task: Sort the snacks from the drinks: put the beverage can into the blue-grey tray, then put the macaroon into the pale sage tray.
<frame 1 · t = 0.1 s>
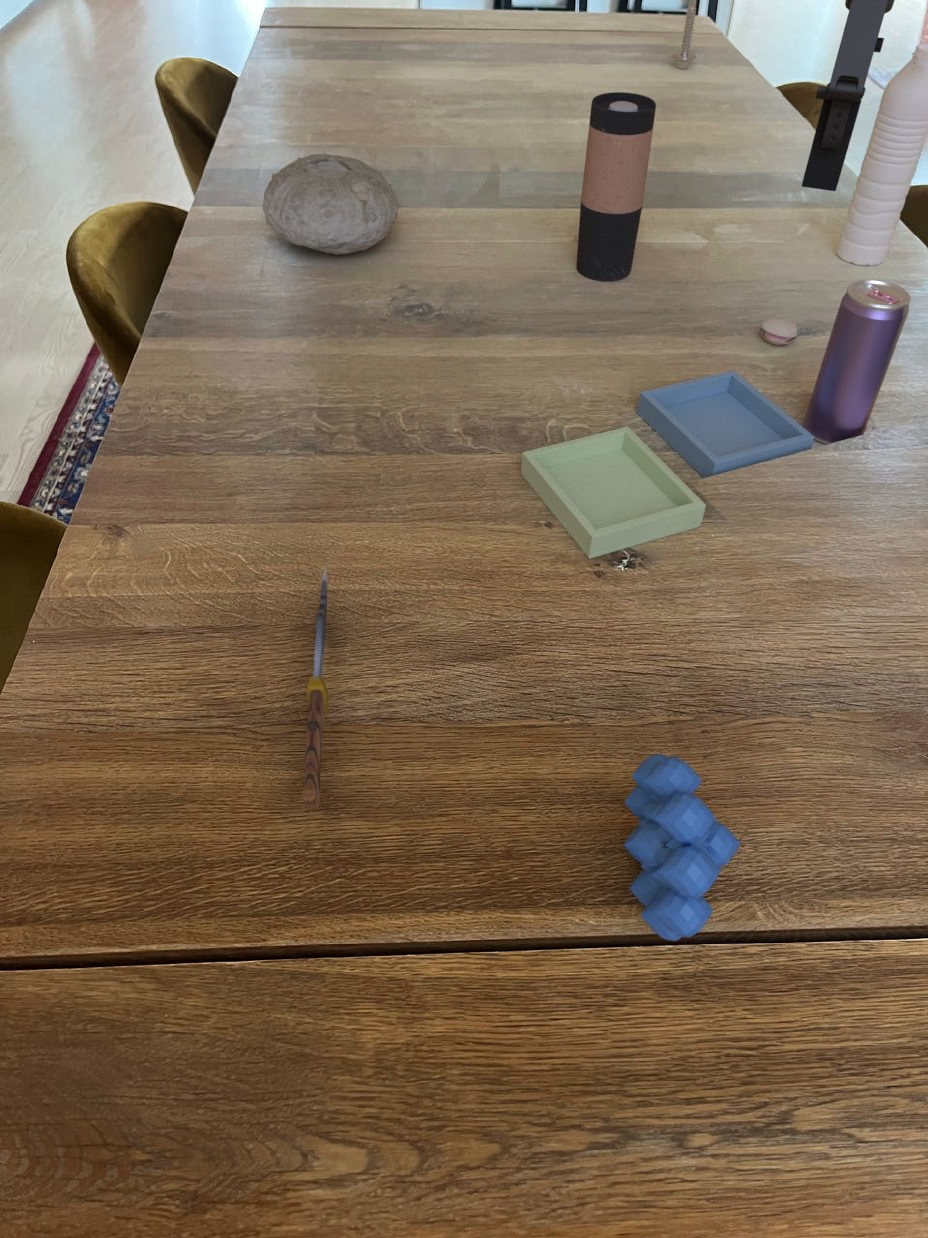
hand: (826, 160, 81), 25 cm above the table, tool pointing down, fingers open, 13 cm apart
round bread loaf: (334, 243, 128), on the table
grapes: (666, 897, 59), on the table
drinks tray: (719, 434, 96), on the table
snack tray: (607, 499, 88), on the table
travel mug: (603, 270, 123), on the table
screw: (682, 68, 189), on the table
macaroon: (778, 340, 111), on the table
beverage can: (831, 433, 97), on the table
knife: (322, 700, 70), on the table
water bottle: (859, 260, 126), on the table
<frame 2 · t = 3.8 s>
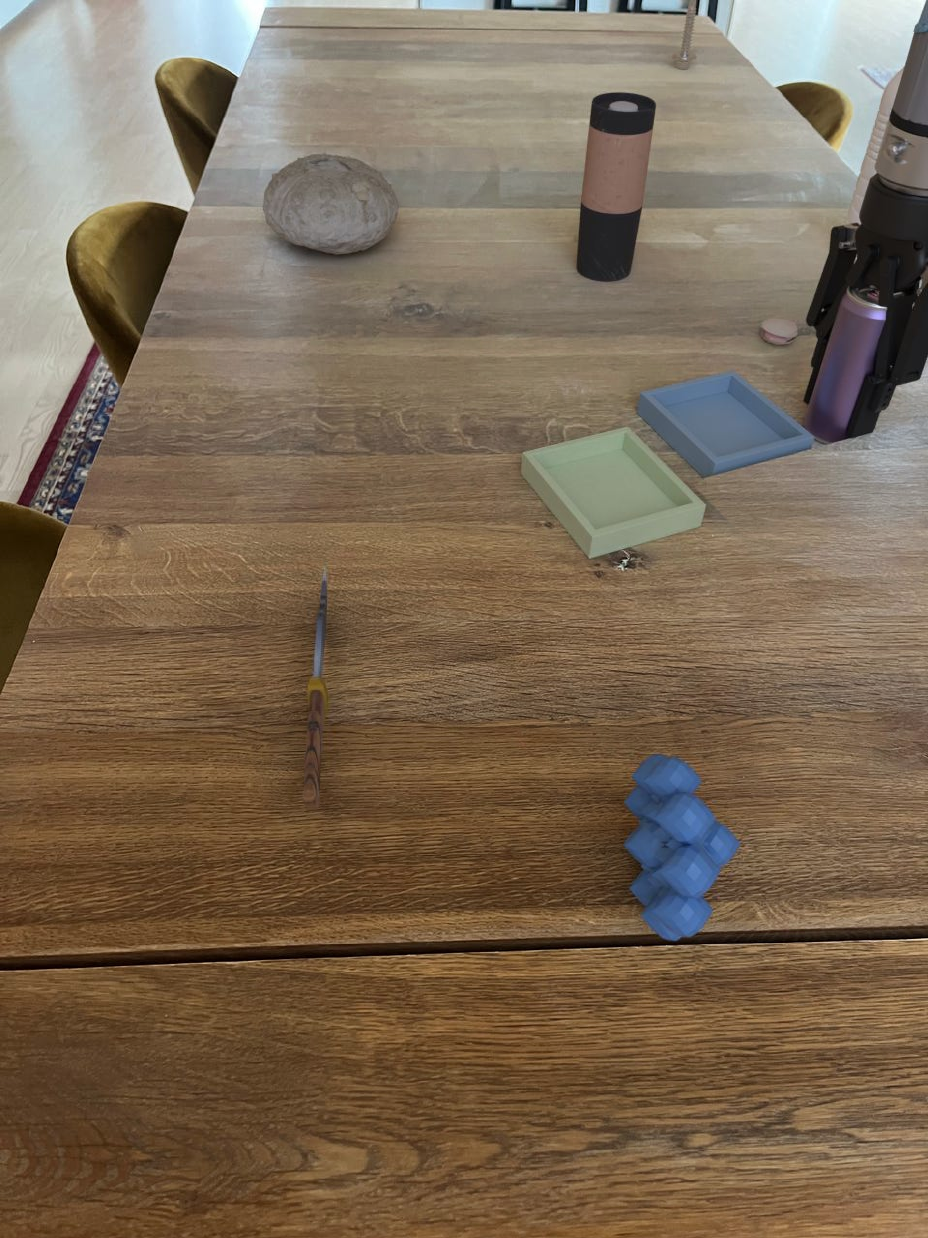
hand: (837, 416, 95), 2 cm above the table, tool pointing down, fingers closed on beverage can, 6 cm apart
beverage can: (831, 433, 97), on the table, touching gripper
everything else where it was.
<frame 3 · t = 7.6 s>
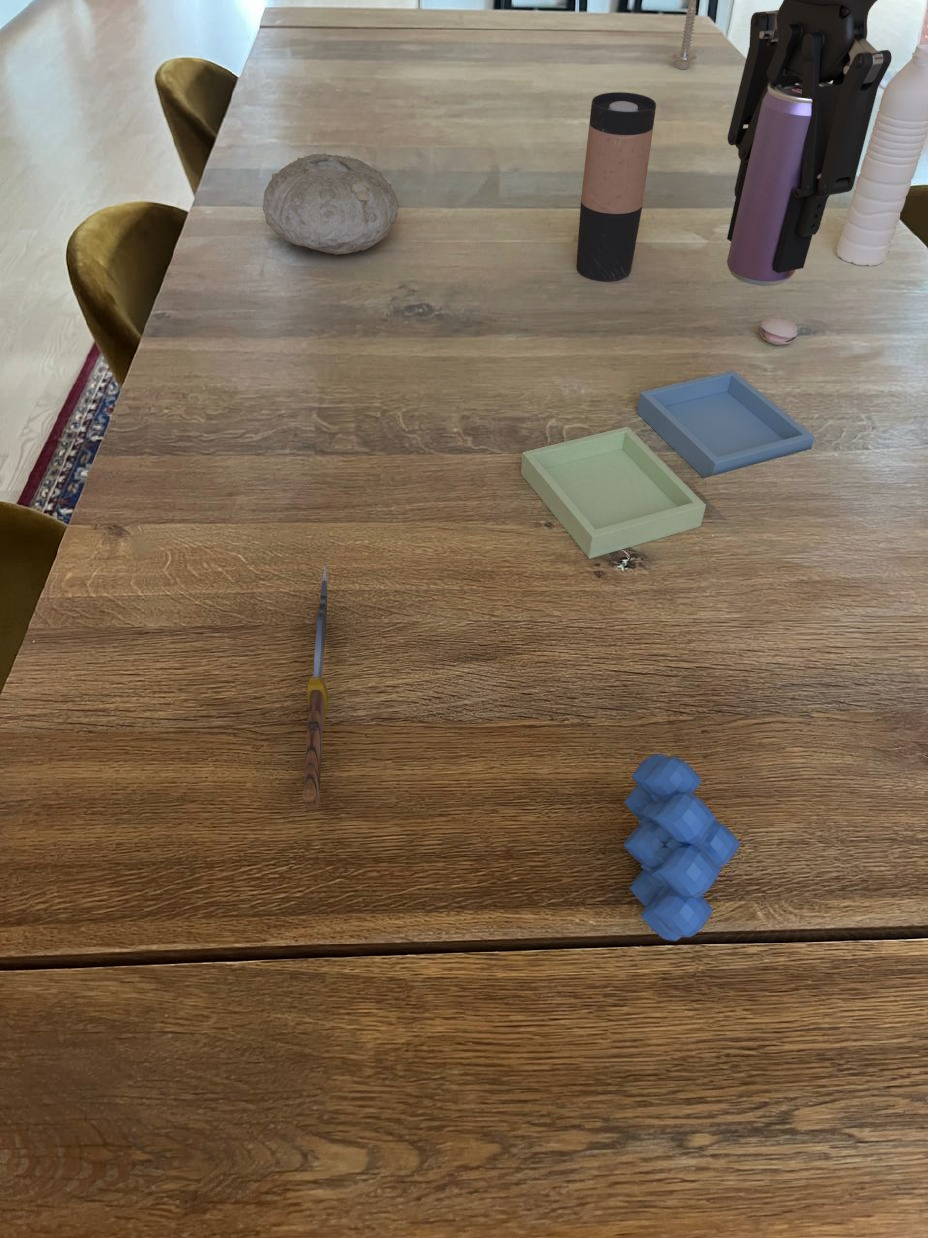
hand: (764, 252, 83), 19 cm above the table, tool pointing down, fingers closed on beverage can, 6 cm apart
beverage can: (758, 275, 84), point 17 cm above the table, touching gripper
everything else where it was.
when the fingers open (2 cm above the table, at t = 11.5 s): beverage can stays where it is, resting on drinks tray.
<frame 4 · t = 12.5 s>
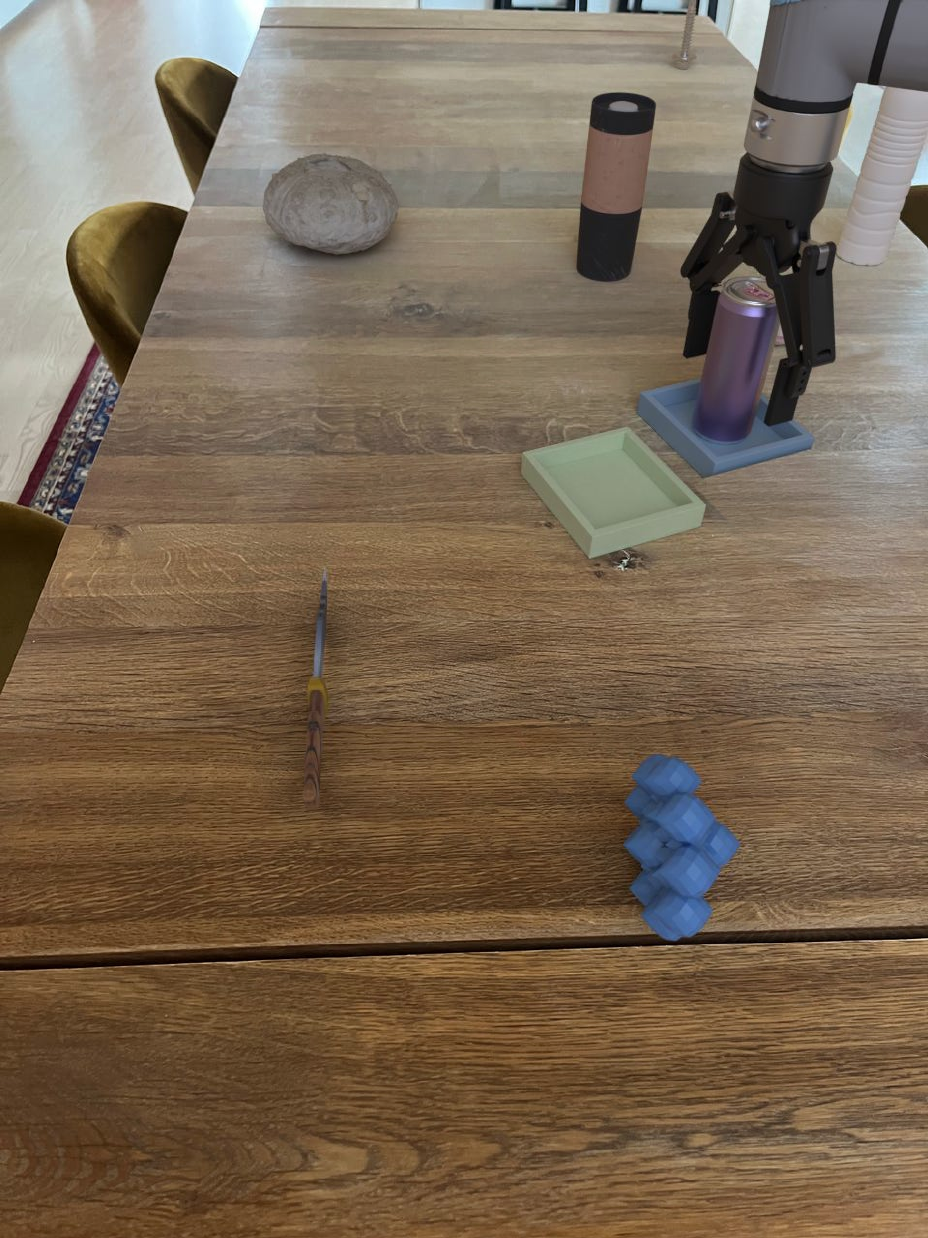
hand: (734, 386, 92), 6 cm above the table, tool pointing down, fingers open, 13 cm apart
beverage can: (719, 431, 96), resting on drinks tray
everything else where it was.
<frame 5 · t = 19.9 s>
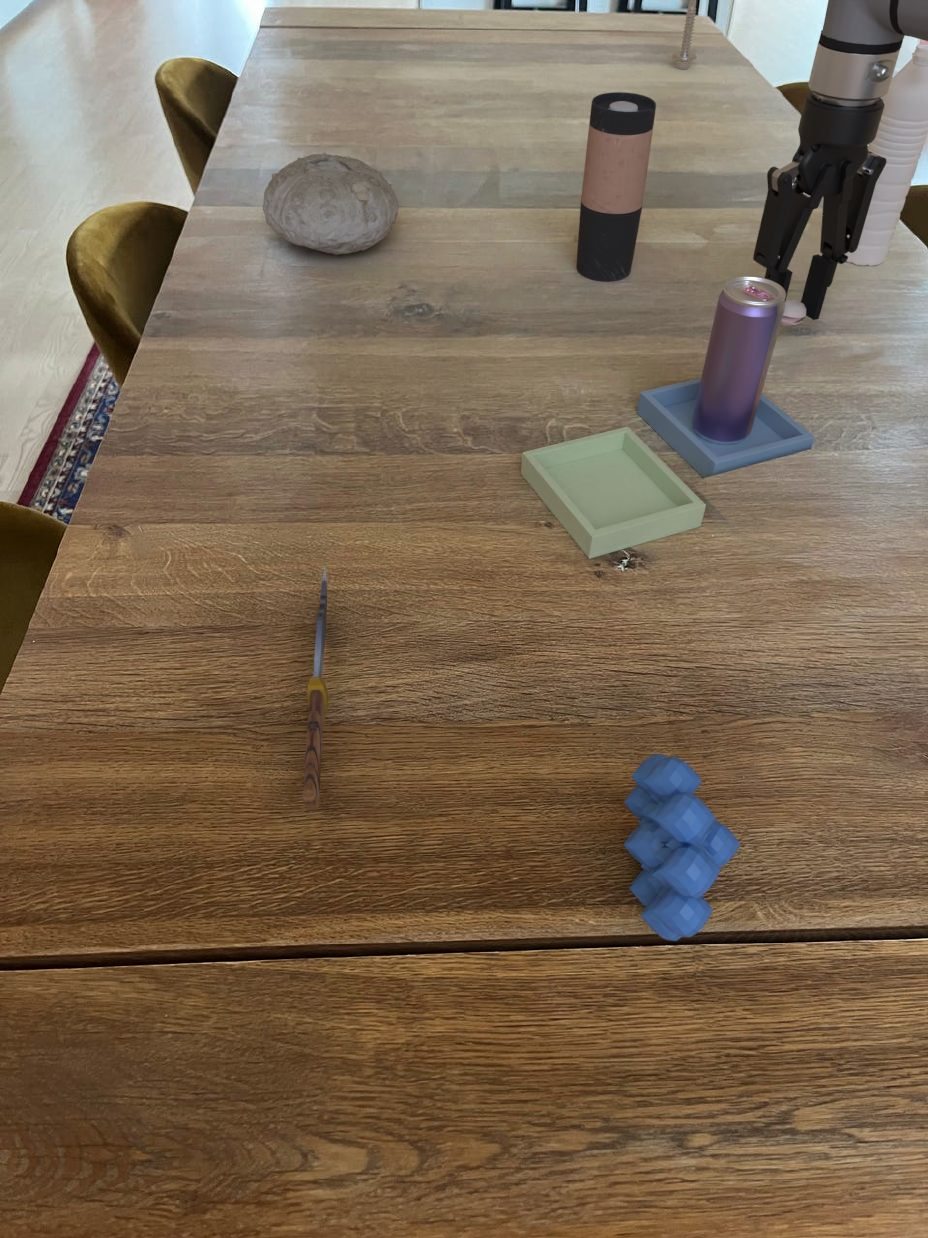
hand: (788, 318, 108), 3 cm above the table, tool pointing down, fingers closed on macaroon, 5 cm apart
macaroon: (787, 322, 109), point 2 cm above the table, touching gripper
everything else where it was.
when the fingers open (1 cm above the table, at t = 28.7 s): macaroon stays where it is, resting on snack tray.
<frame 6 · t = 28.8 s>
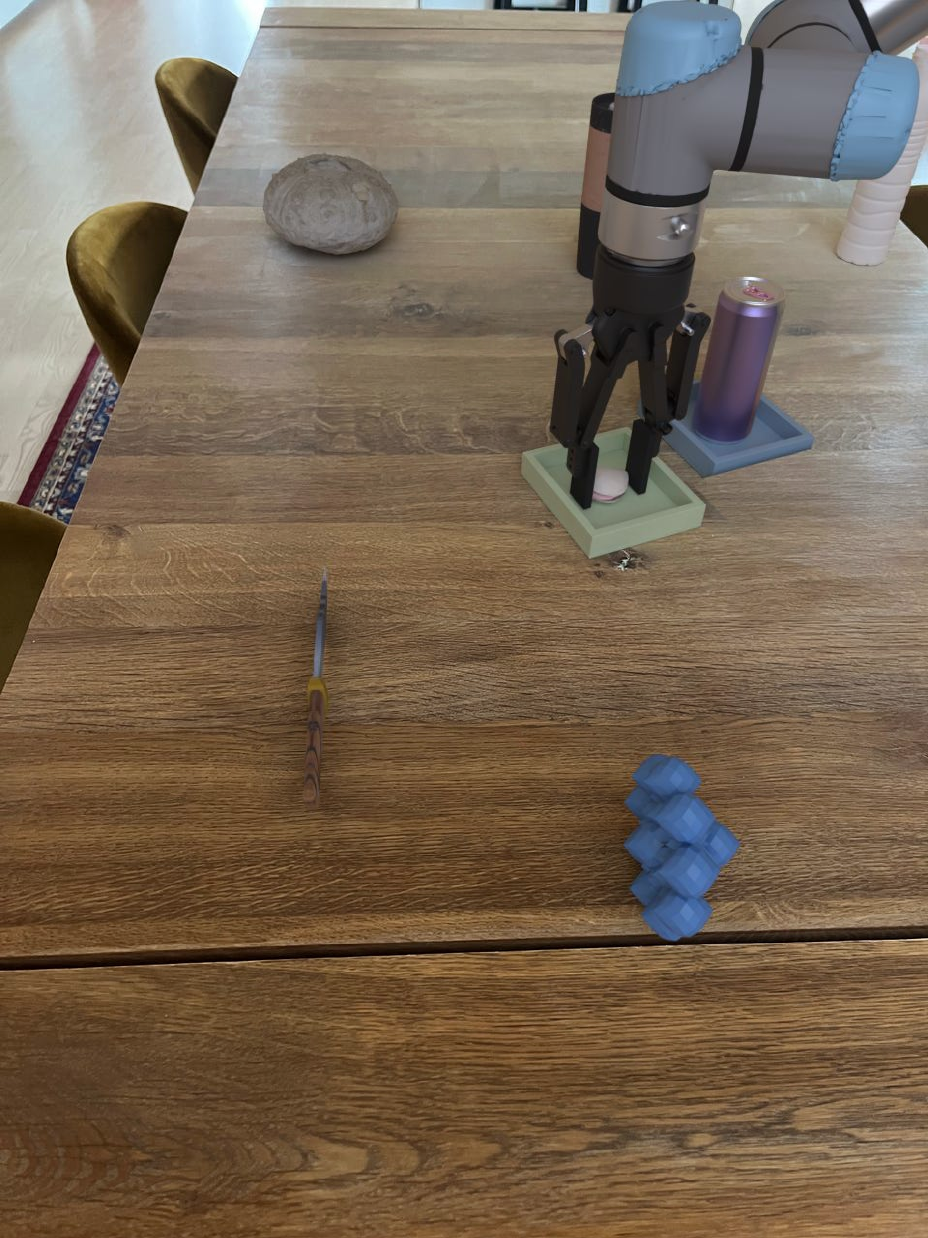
hand: (607, 492, 88), 1 cm above the table, tool pointing down, fingers open, 5 cm apart
macaroon: (606, 494, 88), resting on snack tray
everything else where it was.
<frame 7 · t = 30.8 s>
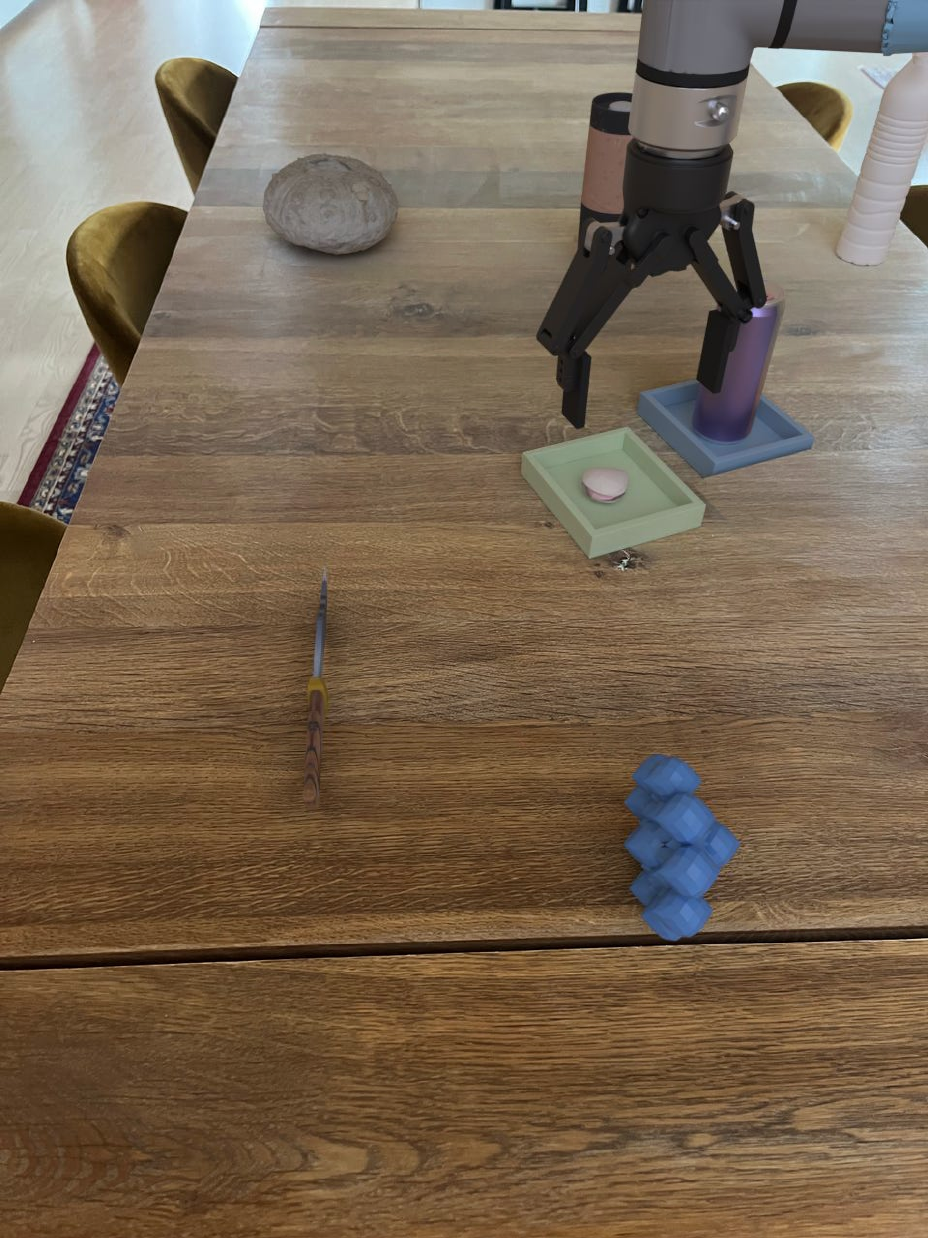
hand: (641, 403, 81), 10 cm above the table, tool pointing down, fingers open, 13 cm apart
nothing on the table moved.
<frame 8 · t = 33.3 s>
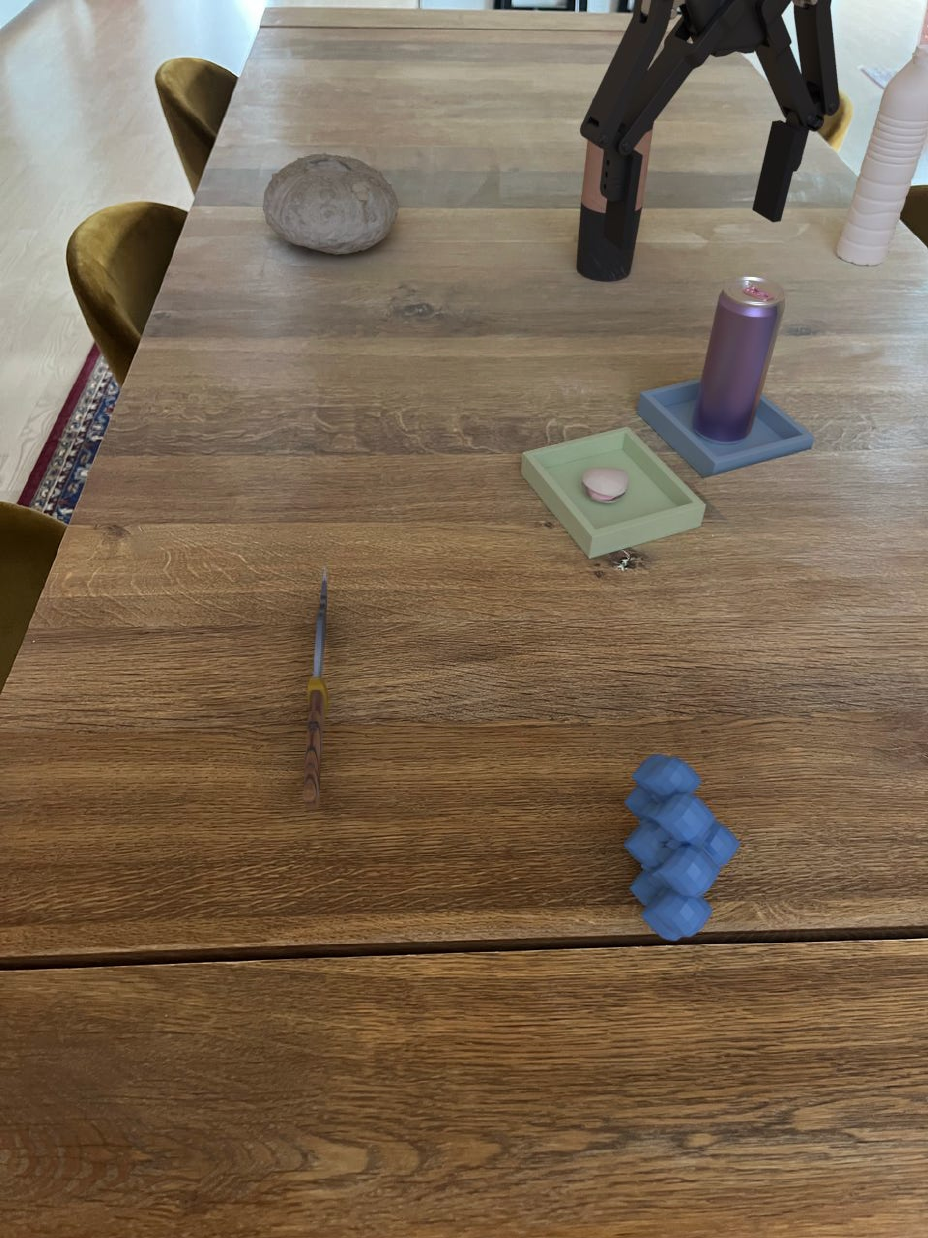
hand: (693, 228, 72), 25 cm above the table, tool pointing down, fingers open, 13 cm apart
nothing on the table moved.
at the end: beverage can inside the target area in the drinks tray (0.0 cm from its centre), point 0.3 cm above the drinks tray's base; beverage can tilted 0°; macaroon inside the target area in the snack tray (0.3 cm from its centre), point 0.3 cm above the snack tray's base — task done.
